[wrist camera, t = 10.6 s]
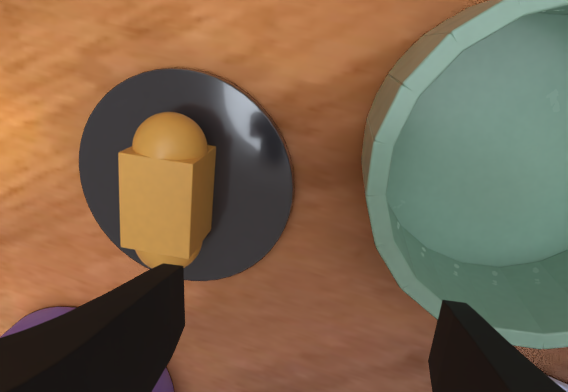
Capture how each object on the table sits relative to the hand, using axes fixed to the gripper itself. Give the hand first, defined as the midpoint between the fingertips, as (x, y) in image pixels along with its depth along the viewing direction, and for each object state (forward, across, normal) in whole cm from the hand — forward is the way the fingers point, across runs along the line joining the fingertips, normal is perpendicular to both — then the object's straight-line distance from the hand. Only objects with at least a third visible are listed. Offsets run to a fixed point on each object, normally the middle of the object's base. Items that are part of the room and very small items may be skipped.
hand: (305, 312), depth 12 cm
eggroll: (+9, +7, 0) cm, 11 cm away
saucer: (+10, +7, 0) cm, 12 cm away
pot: (+10, -8, -3) cm, 13 cm away
